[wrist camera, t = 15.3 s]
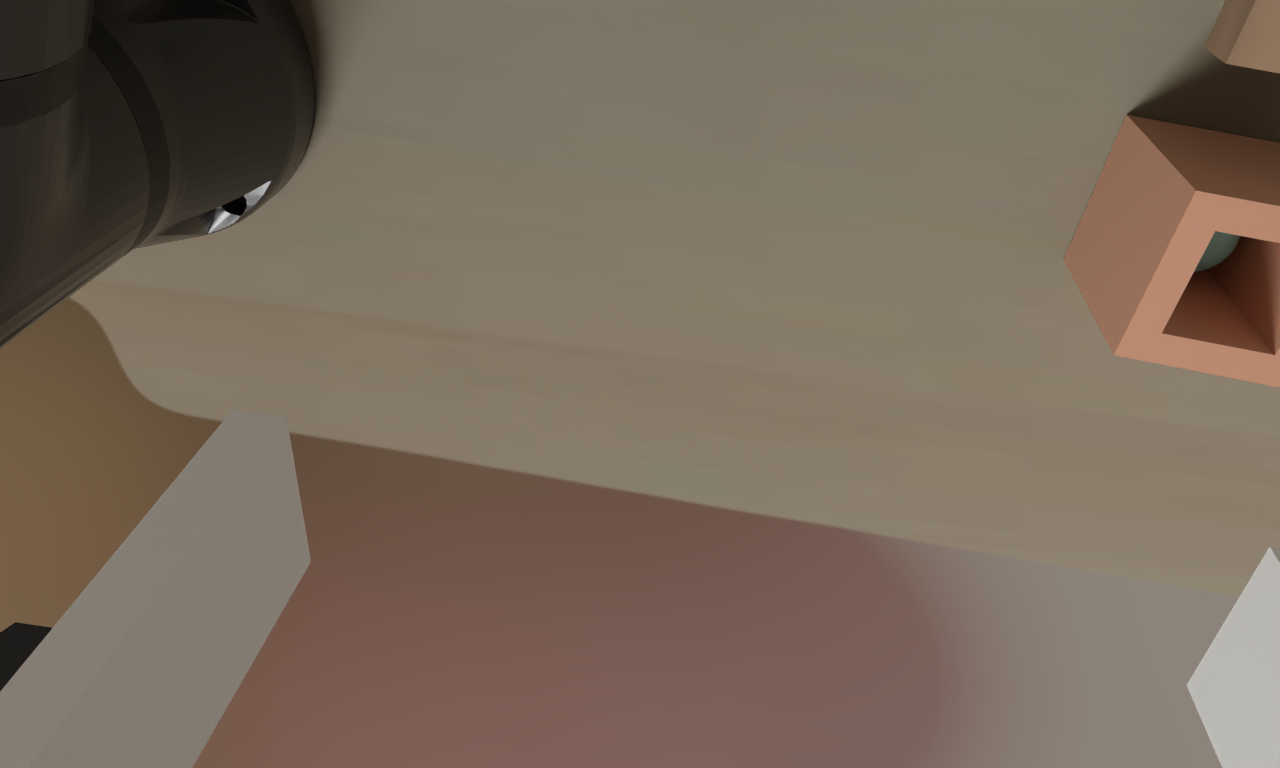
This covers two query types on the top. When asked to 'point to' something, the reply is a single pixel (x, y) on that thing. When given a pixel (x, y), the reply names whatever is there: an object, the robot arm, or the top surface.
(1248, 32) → the lid
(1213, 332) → the tan hollow square block
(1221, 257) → the ball
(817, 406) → the top surface
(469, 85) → the top surface
